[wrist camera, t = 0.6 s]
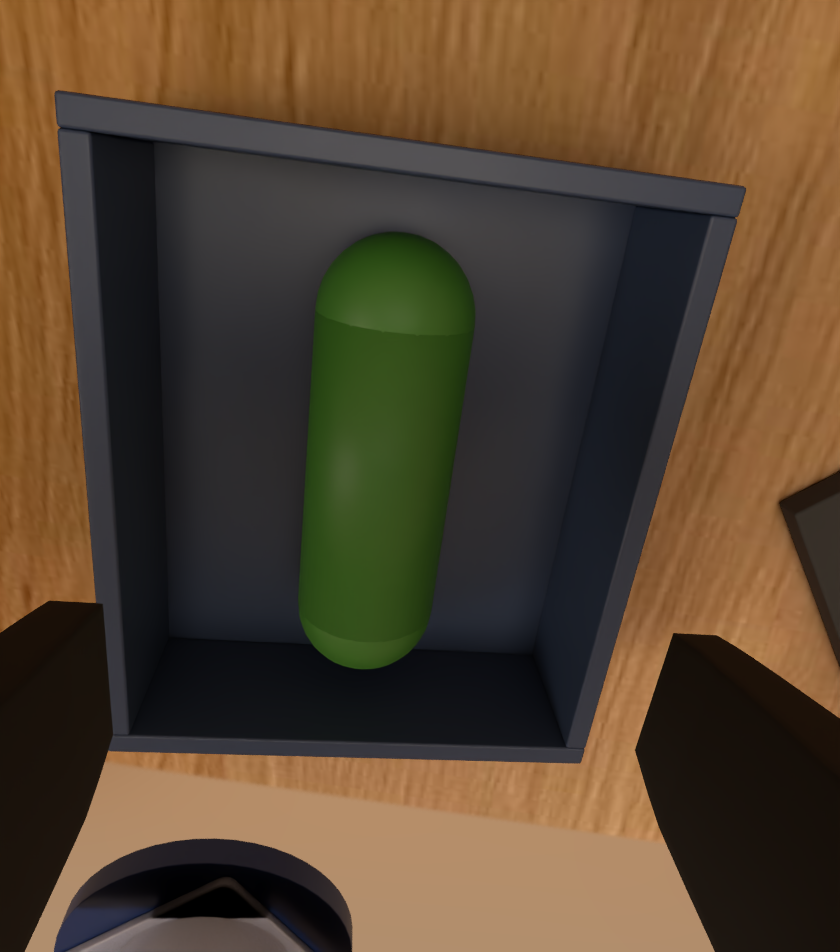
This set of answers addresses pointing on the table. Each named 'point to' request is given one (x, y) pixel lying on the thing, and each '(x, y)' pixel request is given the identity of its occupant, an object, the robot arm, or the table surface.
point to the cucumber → (381, 444)
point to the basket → (287, 416)
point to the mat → (819, 547)
